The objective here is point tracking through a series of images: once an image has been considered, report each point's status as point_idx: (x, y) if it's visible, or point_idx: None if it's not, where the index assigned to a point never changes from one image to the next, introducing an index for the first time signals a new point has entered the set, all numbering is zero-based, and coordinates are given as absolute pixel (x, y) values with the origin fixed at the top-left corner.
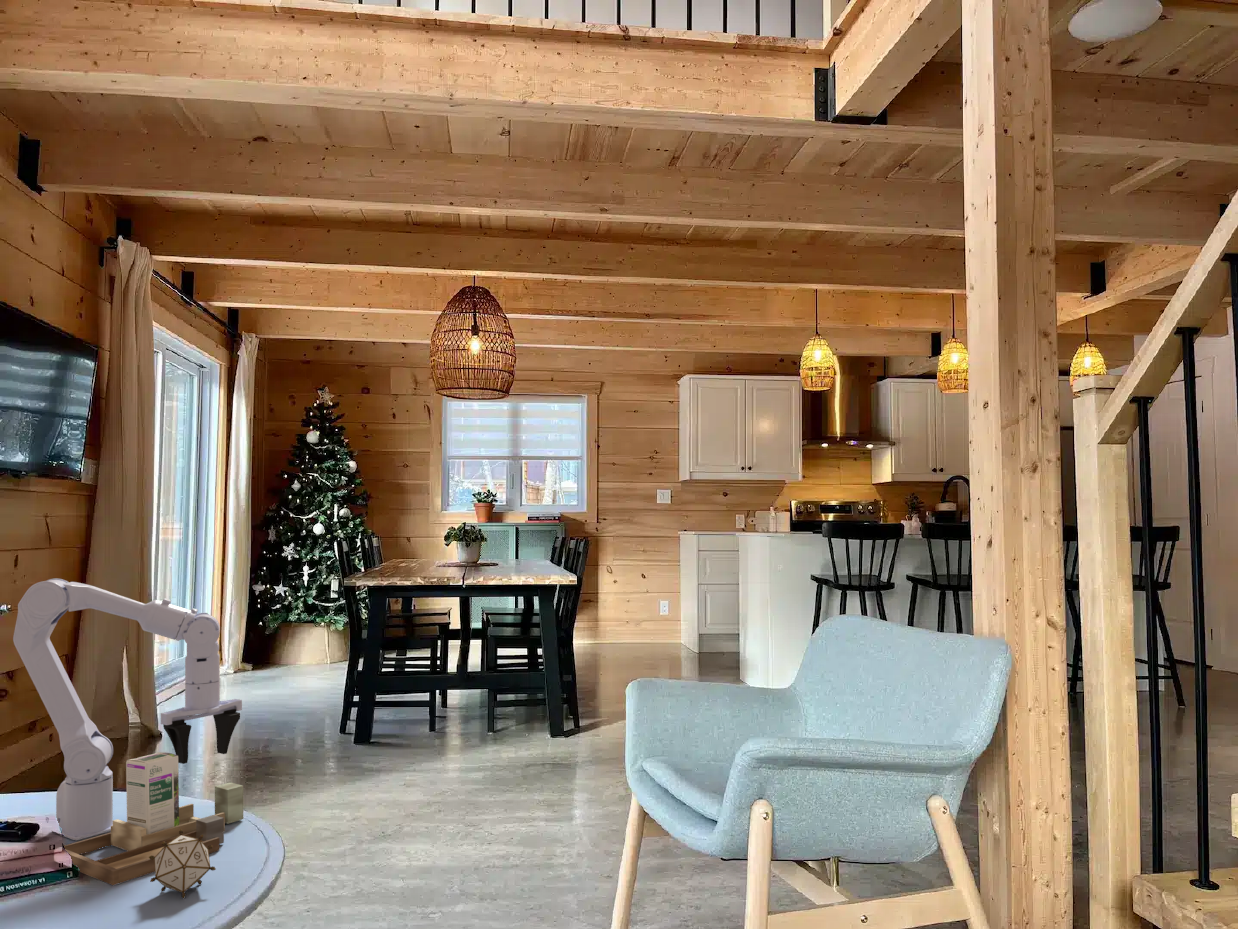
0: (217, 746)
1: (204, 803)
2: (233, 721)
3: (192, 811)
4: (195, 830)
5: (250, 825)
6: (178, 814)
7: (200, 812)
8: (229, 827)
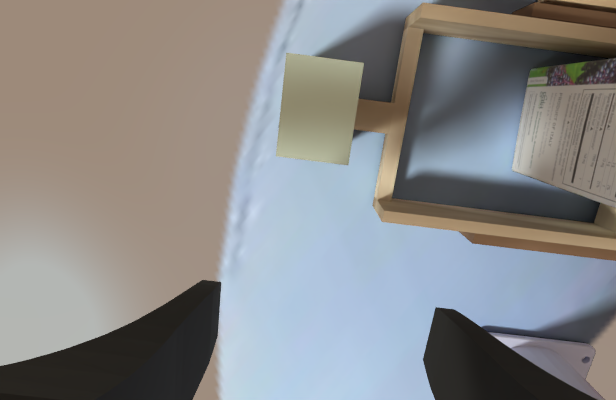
0: (206, 361)
1: (231, 320)
2: (64, 373)
3: (383, 204)
4: (531, 16)
5: (315, 4)
6: (597, 60)
7: (291, 263)
8: (357, 56)
